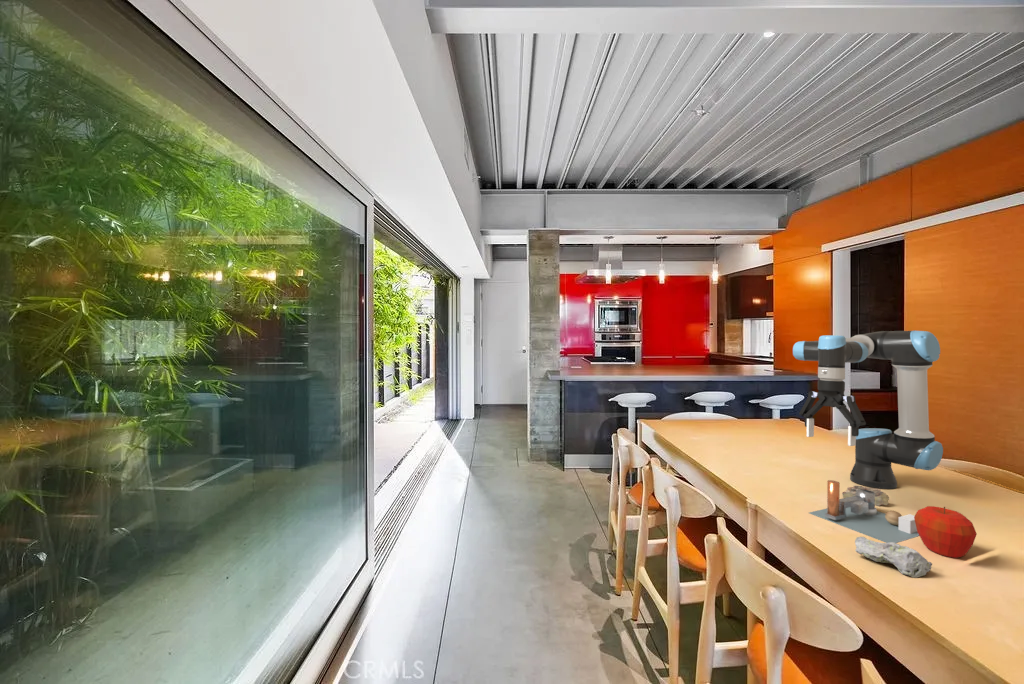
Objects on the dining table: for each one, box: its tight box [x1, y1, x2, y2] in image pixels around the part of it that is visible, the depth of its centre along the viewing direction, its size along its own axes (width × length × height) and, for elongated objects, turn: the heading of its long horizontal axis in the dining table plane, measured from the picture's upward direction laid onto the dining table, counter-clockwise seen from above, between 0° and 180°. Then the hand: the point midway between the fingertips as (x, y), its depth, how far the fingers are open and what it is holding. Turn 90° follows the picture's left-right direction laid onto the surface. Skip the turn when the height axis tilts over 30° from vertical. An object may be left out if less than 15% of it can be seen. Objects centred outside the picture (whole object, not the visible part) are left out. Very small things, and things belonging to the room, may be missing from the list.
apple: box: [914, 505, 978, 559], centre depth 119 cm, size 12×12×14 cm
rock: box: [841, 485, 890, 507], centre depth 155 cm, size 7×11×10 cm
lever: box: [825, 479, 876, 520], centre depth 142 cm, size 21×6×12 cm, turn 111°
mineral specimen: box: [854, 536, 933, 579], centre depth 114 cm, size 16×7×7 cm, turn 42°
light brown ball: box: [885, 510, 903, 525], centre depth 136 cm, size 4×4×4 cm
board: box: [808, 507, 920, 544], centre depth 139 cm, size 24×24×5 cm
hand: (830, 440), depth 145 cm, fingers open, 13 cm apart
